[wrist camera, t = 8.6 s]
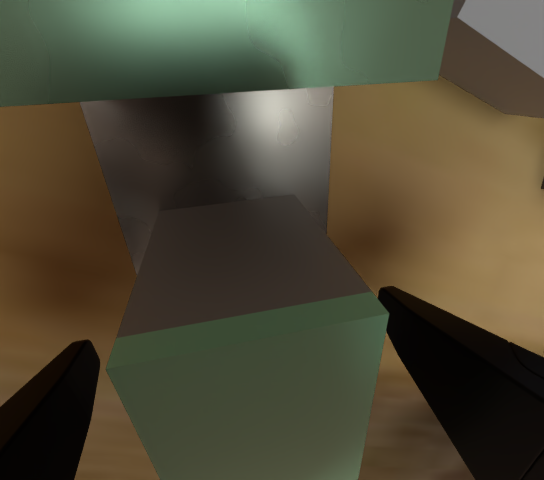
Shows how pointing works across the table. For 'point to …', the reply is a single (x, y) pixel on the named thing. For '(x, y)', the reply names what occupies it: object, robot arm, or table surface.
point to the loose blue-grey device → (498, 53)
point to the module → (248, 346)
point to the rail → (211, 153)
